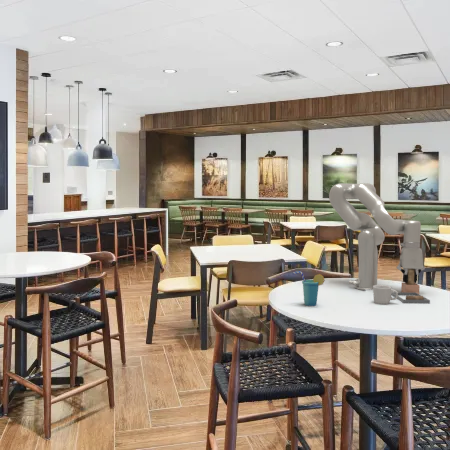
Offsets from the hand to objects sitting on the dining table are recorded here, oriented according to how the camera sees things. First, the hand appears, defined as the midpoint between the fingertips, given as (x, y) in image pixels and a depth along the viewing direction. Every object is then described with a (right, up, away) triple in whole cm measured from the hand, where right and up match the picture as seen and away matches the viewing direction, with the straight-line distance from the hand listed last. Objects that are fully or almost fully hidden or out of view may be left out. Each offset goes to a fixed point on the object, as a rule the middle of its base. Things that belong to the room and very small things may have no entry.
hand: (410, 282), depth 230 cm
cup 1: (-54, -8, -21) cm, 59 cm away
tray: (-5, -7, -12) cm, 15 cm away
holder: (0, -6, 0) cm, 6 cm away
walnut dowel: (-5, -6, -17) cm, 19 cm away
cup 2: (-19, -8, -19) cm, 28 cm away
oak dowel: (0, -5, 0) cm, 5 cm away
